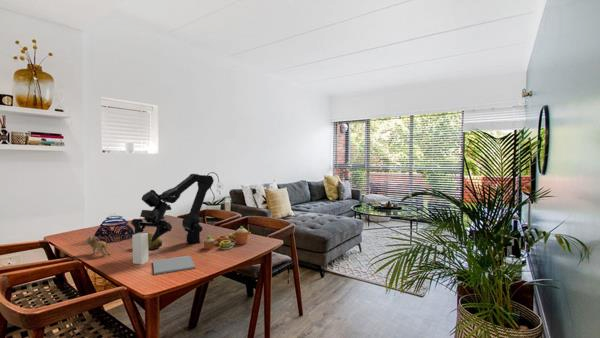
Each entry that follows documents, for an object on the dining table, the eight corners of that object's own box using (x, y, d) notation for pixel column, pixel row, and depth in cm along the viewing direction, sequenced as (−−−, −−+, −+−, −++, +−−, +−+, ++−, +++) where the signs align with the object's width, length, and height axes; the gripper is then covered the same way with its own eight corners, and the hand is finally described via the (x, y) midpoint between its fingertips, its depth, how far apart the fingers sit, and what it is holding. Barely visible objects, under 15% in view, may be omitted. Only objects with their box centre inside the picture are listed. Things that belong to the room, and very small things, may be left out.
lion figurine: (83, 254, 147) (83, 236, 146) (94, 251, 152) (94, 233, 151) (105, 258, 142) (105, 239, 141) (115, 254, 147) (115, 236, 146)
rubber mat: (190, 257, 144) (190, 255, 144) (195, 268, 130) (195, 266, 130) (153, 262, 136) (153, 260, 136) (154, 274, 122) (154, 272, 122)
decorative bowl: (111, 233, 187) (110, 210, 187) (141, 234, 185) (140, 211, 184) (85, 242, 167) (84, 216, 167) (118, 243, 165) (117, 217, 165)
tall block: (139, 260, 139) (139, 232, 139) (148, 260, 139) (148, 232, 138) (132, 263, 135) (132, 234, 134) (141, 264, 134) (141, 235, 134)
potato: (148, 251, 151) (148, 236, 151) (135, 247, 158) (135, 232, 158) (164, 247, 158) (164, 232, 158) (150, 243, 165) (150, 229, 165)
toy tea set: (233, 237, 179) (233, 221, 179) (253, 241, 171) (253, 225, 171) (198, 248, 157) (198, 230, 157) (218, 254, 149) (218, 235, 149)
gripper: (133, 202, 145) (115, 230, 134) (168, 203, 141) (152, 232, 131) (144, 215, 153) (128, 242, 142) (178, 217, 149) (164, 245, 139)
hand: (143, 240), depth 138 cm, fingers open, 9 cm apart
